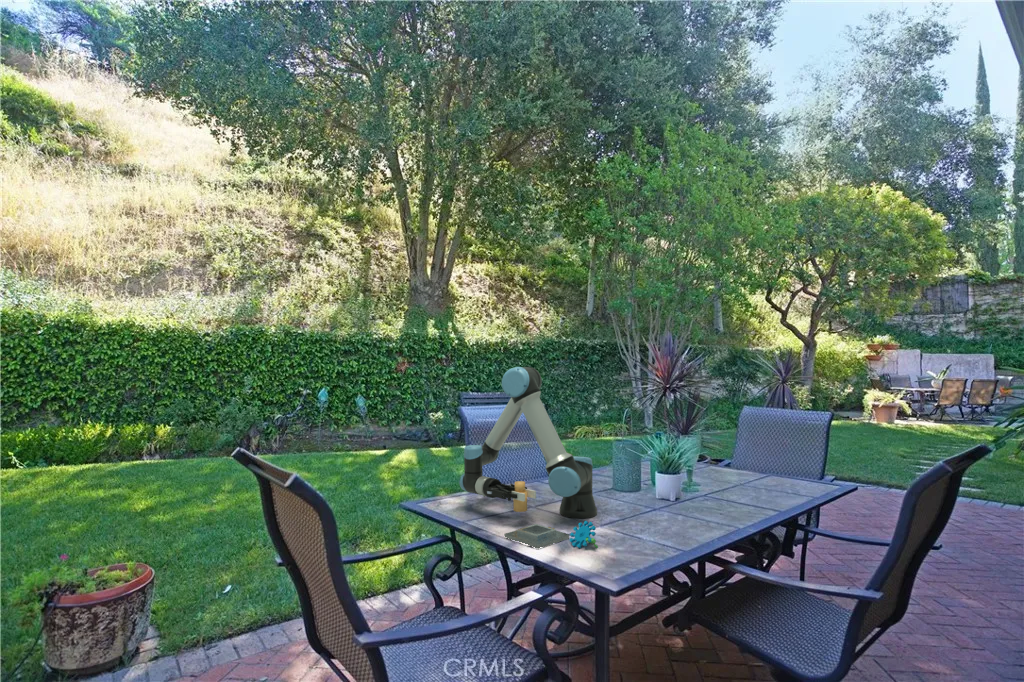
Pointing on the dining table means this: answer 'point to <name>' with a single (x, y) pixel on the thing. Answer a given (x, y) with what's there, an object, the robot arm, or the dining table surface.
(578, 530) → the gear
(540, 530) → the junction box
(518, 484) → the stacked tan cylinders
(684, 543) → the dining table surface
